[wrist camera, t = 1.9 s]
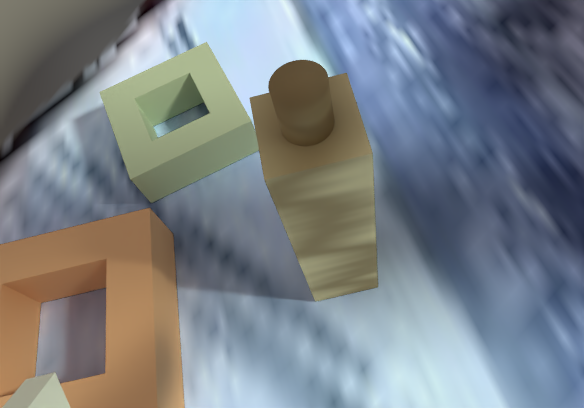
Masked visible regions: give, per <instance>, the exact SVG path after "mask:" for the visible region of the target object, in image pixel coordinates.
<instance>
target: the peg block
mask: <svg viewBox="0 0 584 408" xmlns="http://www.w3.org/2000/svg"><path fill="white" fill-rule="evenodd" d="M269 92H270V93H266V94H262V95H258V96H254V97H251V98H250V103H251V108H252V114H253V119H254V125H255V130H256V136H257V141H258V147H259V153H260V158H261V164H262V169H263V175H264V180H265V182H266V185H267V187H268V190H269V192H270V194H271V197H272V199H273V202H274V204H275V206H276V209H277V211H278V214H279V216H280V218H281V221H282V223H283V225H284V228H285V230H286V233H287V235H288V237H289V240H290V242H291V245H292V247H293V249H294V252H295V254H296V257H297V259H298V261H299V264H300V266H301V269H302V271H303V273H304V276H305V278H306V281H307V283H308V285H309V288H310V290H311V293H312V295H313V297H314V300H315V302H316V301H321V300H325V299H329V298H334V297H338V296H342V295H347V294H351V293H355V292H360V291H364V290H368V289H373V288H377V287H378V274H377V248H376V223H375V198H374V173H373V152H372V149H371V146H370V143H369V140H368V137H367V134H366V131H365V128H364V125H363V122H362V119H361V115H360V112H359V109H358V106H357V103H356V100H355V97H354V94H353V91H352V88H351V85H350V82H349V79H348V75H347V73H344V74H340V75H336V76H332V77H328V74H327V72H326V70H325V69H324V68H323V67H322V66H321V65H320V64H318V63H316V62H313V61H309V60H296V61H292V62H289V63H286V64H284V65H282V66H281V67H279V68H278V69H277V70H276V71H275V72H274V73H273V75H272V76H271V78H270V81H269Z"/></svg>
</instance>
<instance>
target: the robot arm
mask: <svg viewBox="0 0 584 408" xmlns="http://www.w3.org/2000/svg"><path fill="white" fill-rule="evenodd" d="M2 408H70V405H69V403H68V401H67V398H66V396H65V394H64V392H63V389H62V387H61V385H60V382H59V380H58V378H57V376H56V373H55V372H54V373H50V374H46V375H42V376H38V377H33V378H29V379H26V380H25V381H24V382H23V383H22V385H21V386H20V387H19V388H18V389H17V390H16V392H15V393H14V394H13V395H12V396H11V398H10V399H9V400H8V401H7V402H6V404H5V405H4V406H3V407H2Z"/></svg>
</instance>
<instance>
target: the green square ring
mask: <svg viewBox="0 0 584 408" xmlns="http://www.w3.org/2000/svg"><path fill="white" fill-rule="evenodd" d="M100 95H101V98H102V100H103V103H104V106H105V109H106V112H107V115H108V117H109V120H110V123H111V126H112V129H113V132H114V135H115V137H116V140H117V143H118V146H119V149H120V152H121V154H122V157H123V160H124V163H125V166H126V169H127V171H128V174H129V177H130V180H131V181H132V182H133V183H134V184H135V185H136V186H137V188H138V189H139V190H140V191H141V192H142V193H143V194H144V196H145V197H146V198H147V199H148V200H149V201H150V202H151V203H153V202H155V201H157V200H159V199H161V198H163V197H165V196H167V195H169V194H171V193H173V192H175V191H177V190H179V189H181V188H183V187H185V186H187V185H189V184H192V183H194V182H196V181H198V180H200V179H202V178H204V177H206V176H208V175H210V174H212V173H214V172H216V171H218V170H220V169H222V168H224V167H226V166H228V165H230V164H232V163H234V162H236V161H238V160H240V159H242V158H244V157H247V156H249V155H251V154H253V153H255V152H257V151H259V147H258V141H257V136H256V132H255V129H254V127H253V124H252V122H251V120H250V118H249V116H248V114H247V112H246V111H245V109H244V107H243V105H242V104H241V102H240V100H239V98H238V96H237V95H236V93H235V91H234V89H233V88H232V86H231V84H230V82H229V81H228V79H227V77H226V75H225V73H224V72H223V70H222V68H221V66H220V65H219V63H218V61H217V59H216V57H215V56H214V54H213V52H212V50H211V49H210V47H209V45H208V43H207V42H206V43H203V44H201V45H199V46H197V47H195V48H193V49H191V50H188V51H186V52H184V53H182V54H180V55H178V56H176V57H174V58H171V59H169V60H167V61H165V62H163V63H161V64H159V65H157V66H154V67H152V68H150V69H148V70H146V71H144V72H142V73H139V74H137V75H135V76H133V77H131V78H129V79H127V80H125V81H122V82H120V83H118V84H116V85H114V86H112V87H110V88H107V89H105V90H103V91H101V92H100ZM203 102H204V103H205V105H206V107H207V109H208V111H209V114H207V115H205V116H203V117H201V118H199V119H197V120H195V121H193V122H190V123H188V124H186V125H184V126H182V127H180V128H178V129H176V130H174V131H172V132H170V133H168V134H166V135H163V136H161V137H159V138H158V137H157V134H156V132H155V129H154V127H153V126H155V125H157V124H160V123H162V122H164V121H166V120H168V119H170V118H172V117H174V116H176V115H178V114H180V113H183V112H185V111H187V110H189V109H191V108H193V107H195V106H197V105H199V104H201V103H203Z"/></svg>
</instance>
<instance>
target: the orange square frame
mask: <svg viewBox="0 0 584 408" xmlns="http://www.w3.org/2000/svg"><path fill="white" fill-rule="evenodd" d="M102 288H106V361H105V373H104V374H100V375H96V376H91V377H87V378H82V379H78V380H74V381H69V382H65V383H60V385H61V387H62V389H63V392H64V394H65V396H66V398H67V401H68V403H69V405H70V408H185V407H184V391H183V376H182V361H181V345H180V330H179V314H178V299H177V284H176V268H175V253H174V238H173V233H172V232H171V231H170V230H169V229H168V228H167V226H166V225H165V224H164V223H163V222H162V221H161V220H160V219H159V218H158V216H157V215H156V214H155V213H154V212H153V211H152V210H151V209H150V208H146V209H142V210H138V211H134V212H130V213H126V214H122V215H118V216H114V217H110V218H106V219H102V220H98V221H94V222H90V223H86V224H82V225H77V226H73V227H69V228H65V229H61V230H57V231H53V232H49V233H45V234H41V235H37V236H33V237H29V238H25V239H21V240H17V241H13V242H9V243H4V244H0V408H2V407H3V406H4V405H5V404H6V402H7V401H8V400H9V399H10V398H11V396H12V395H13V394H14V393H15V392H16V390H17V389H18V388H19V387H20V386H21V385H22V383H23V382H24V381H25V380H26V379H29V378H33V377H35V371H36V359H37V346H38V334H39V322H40V309H41V303H43V302H48V301H52V300H56V299H60V298H64V297H68V296H73V295H77V294H81V293H85V292H89V291H94V290H98V289H102Z"/></svg>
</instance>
